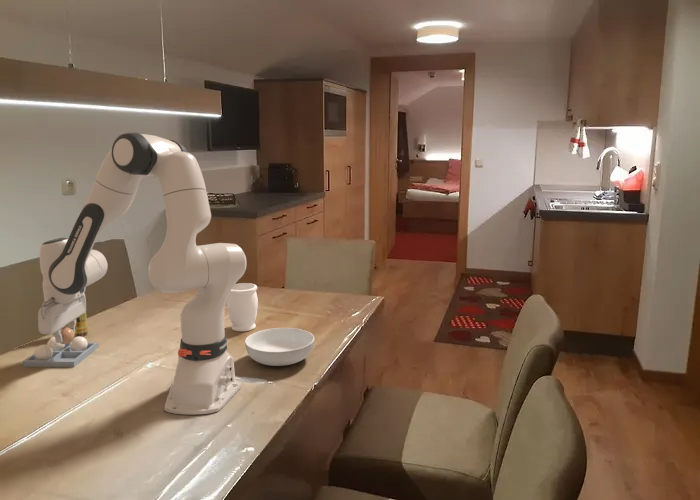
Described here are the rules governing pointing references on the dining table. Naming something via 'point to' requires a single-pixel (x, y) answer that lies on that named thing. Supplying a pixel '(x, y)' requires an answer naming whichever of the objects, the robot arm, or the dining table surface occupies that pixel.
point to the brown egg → (67, 335)
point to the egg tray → (62, 357)
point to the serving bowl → (279, 346)
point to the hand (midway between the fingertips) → (65, 337)
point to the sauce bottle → (81, 326)
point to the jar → (243, 306)
